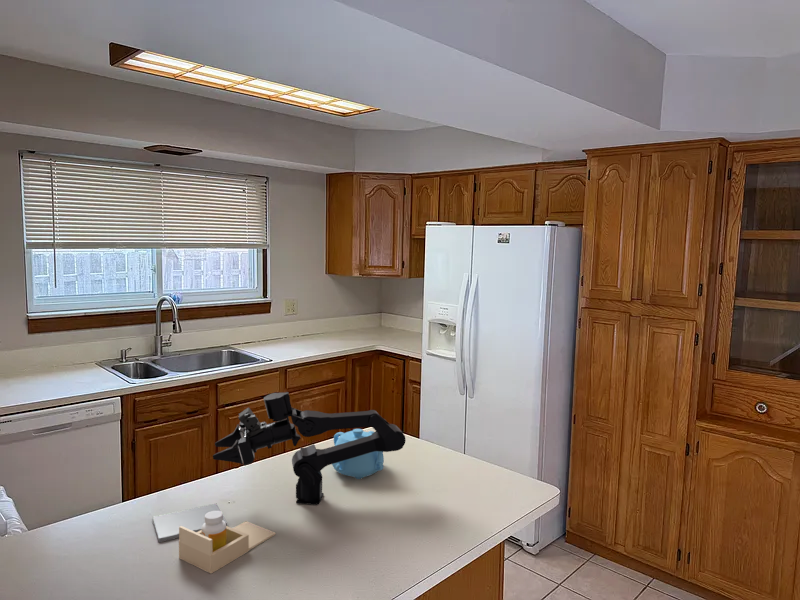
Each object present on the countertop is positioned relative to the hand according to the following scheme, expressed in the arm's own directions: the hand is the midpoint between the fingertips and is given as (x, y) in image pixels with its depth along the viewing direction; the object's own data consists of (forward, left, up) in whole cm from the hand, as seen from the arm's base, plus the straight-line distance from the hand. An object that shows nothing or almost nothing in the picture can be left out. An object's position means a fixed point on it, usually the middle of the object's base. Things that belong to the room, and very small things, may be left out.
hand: (214, 450), depth 150 cm
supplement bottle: (-9, +21, -16) cm, 28 cm away
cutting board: (+3, +8, -16) cm, 18 cm away
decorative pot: (-34, -30, -16) cm, 48 cm away
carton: (-11, +17, -16) cm, 26 cm away
